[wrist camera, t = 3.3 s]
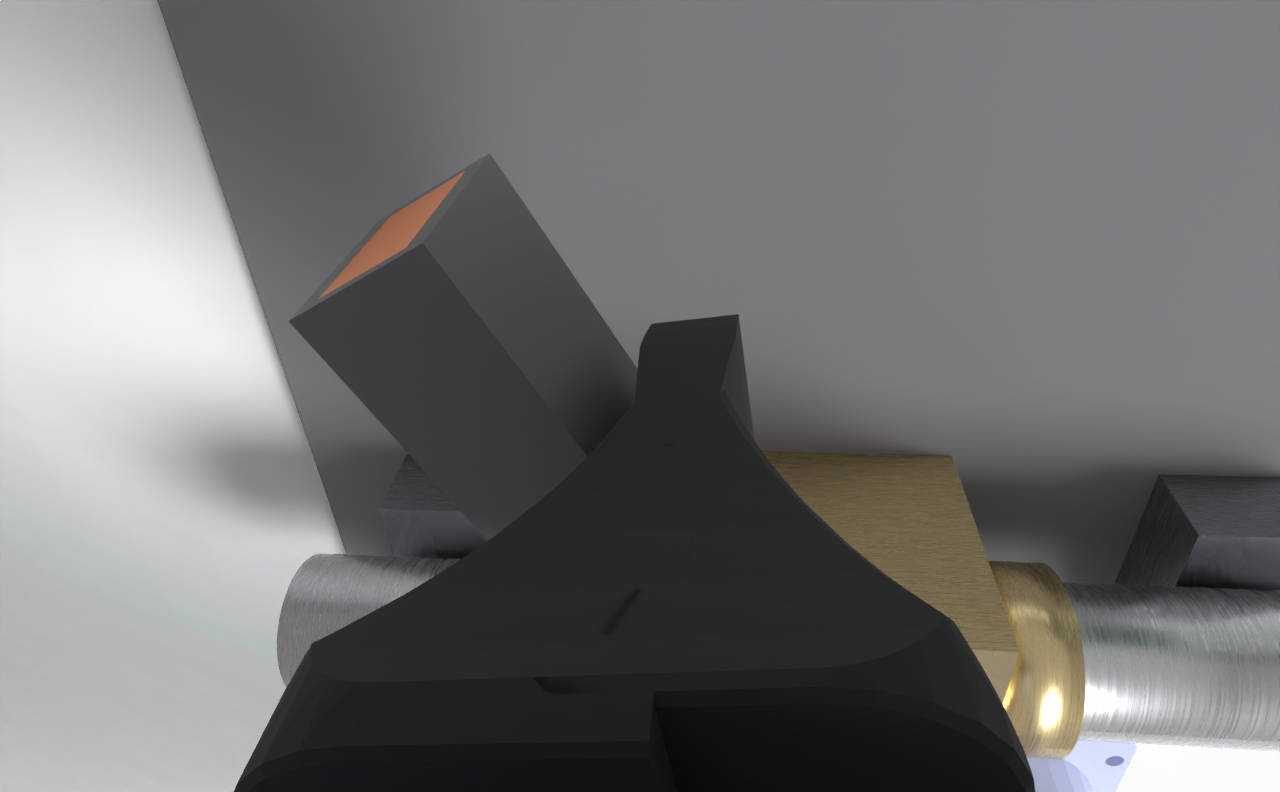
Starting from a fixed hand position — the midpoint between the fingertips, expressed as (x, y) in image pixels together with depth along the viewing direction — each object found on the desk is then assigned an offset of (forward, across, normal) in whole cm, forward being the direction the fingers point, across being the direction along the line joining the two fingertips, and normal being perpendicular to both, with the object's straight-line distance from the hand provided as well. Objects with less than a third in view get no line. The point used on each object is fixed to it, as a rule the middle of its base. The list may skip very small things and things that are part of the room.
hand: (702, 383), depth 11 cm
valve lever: (+1, 0, +4) cm, 4 cm away
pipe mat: (+7, -2, +5) cm, 9 cm away
